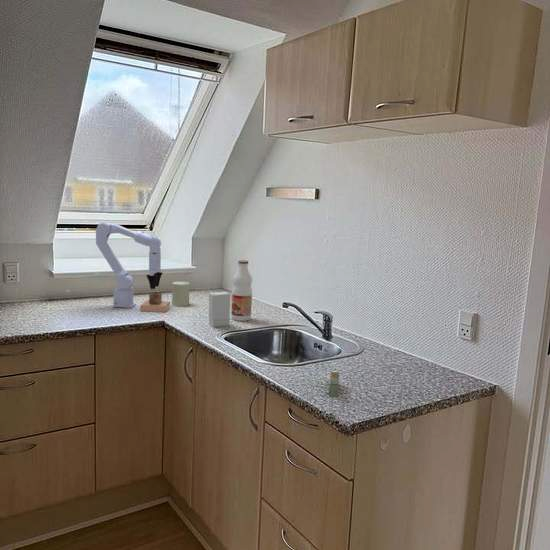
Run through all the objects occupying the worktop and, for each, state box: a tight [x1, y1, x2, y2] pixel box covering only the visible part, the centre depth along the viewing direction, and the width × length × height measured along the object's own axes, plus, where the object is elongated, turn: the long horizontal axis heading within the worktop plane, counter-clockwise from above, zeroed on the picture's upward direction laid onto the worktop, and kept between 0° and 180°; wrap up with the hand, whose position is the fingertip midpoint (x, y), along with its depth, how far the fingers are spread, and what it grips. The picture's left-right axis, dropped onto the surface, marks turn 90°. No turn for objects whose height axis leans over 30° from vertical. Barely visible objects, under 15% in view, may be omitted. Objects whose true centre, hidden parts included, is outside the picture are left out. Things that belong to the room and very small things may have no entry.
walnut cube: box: [148, 292, 163, 305], centre depth 261 cm, size 5×5×5 cm
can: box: [171, 281, 191, 307], centre depth 275 cm, size 9×9×12 cm
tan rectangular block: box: [139, 300, 171, 313], centre depth 261 cm, size 12×12×3 cm
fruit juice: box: [230, 259, 253, 322], centre depth 247 cm, size 9×9×28 cm
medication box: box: [328, 371, 340, 398], centre depth 161 cm, size 12×3×4 cm, turn 173°
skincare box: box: [208, 291, 231, 328], centre depth 234 cm, size 8×6×15 cm
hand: (154, 287), depth 266 cm, fingers open, 7 cm apart
